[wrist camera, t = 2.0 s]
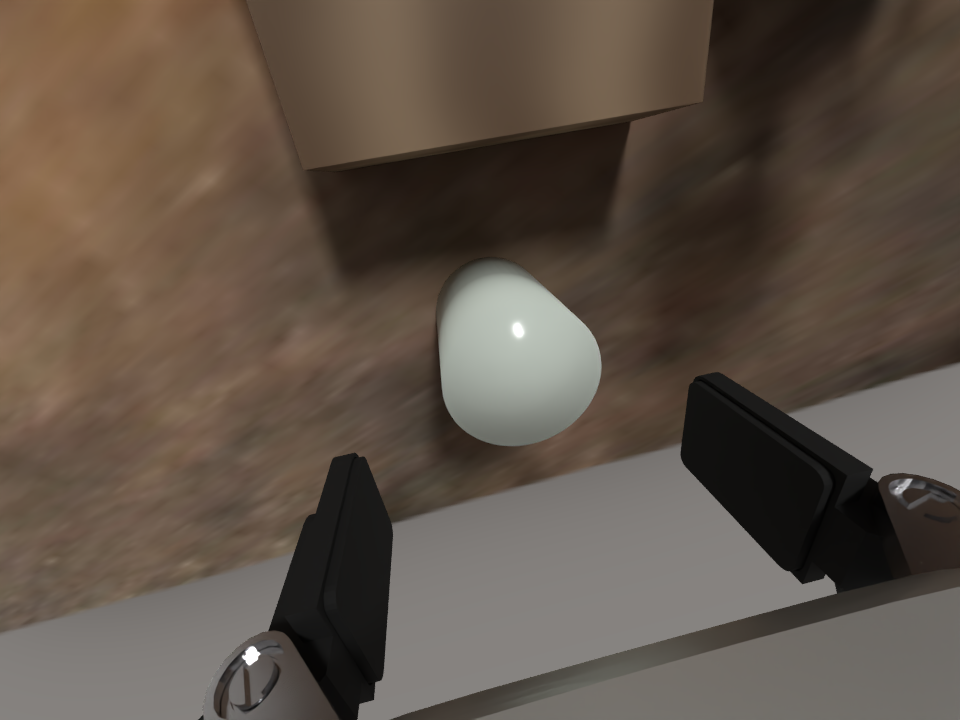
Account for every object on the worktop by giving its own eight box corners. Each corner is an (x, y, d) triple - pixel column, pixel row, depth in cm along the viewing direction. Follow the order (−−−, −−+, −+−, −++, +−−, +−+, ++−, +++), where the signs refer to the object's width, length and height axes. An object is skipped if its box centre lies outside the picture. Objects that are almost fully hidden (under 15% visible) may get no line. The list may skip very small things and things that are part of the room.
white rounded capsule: (537, 247, 19) (601, 288, 12) (544, 348, 22) (601, 429, 15) (425, 268, 19) (425, 322, 12) (447, 367, 22) (458, 459, 15)
